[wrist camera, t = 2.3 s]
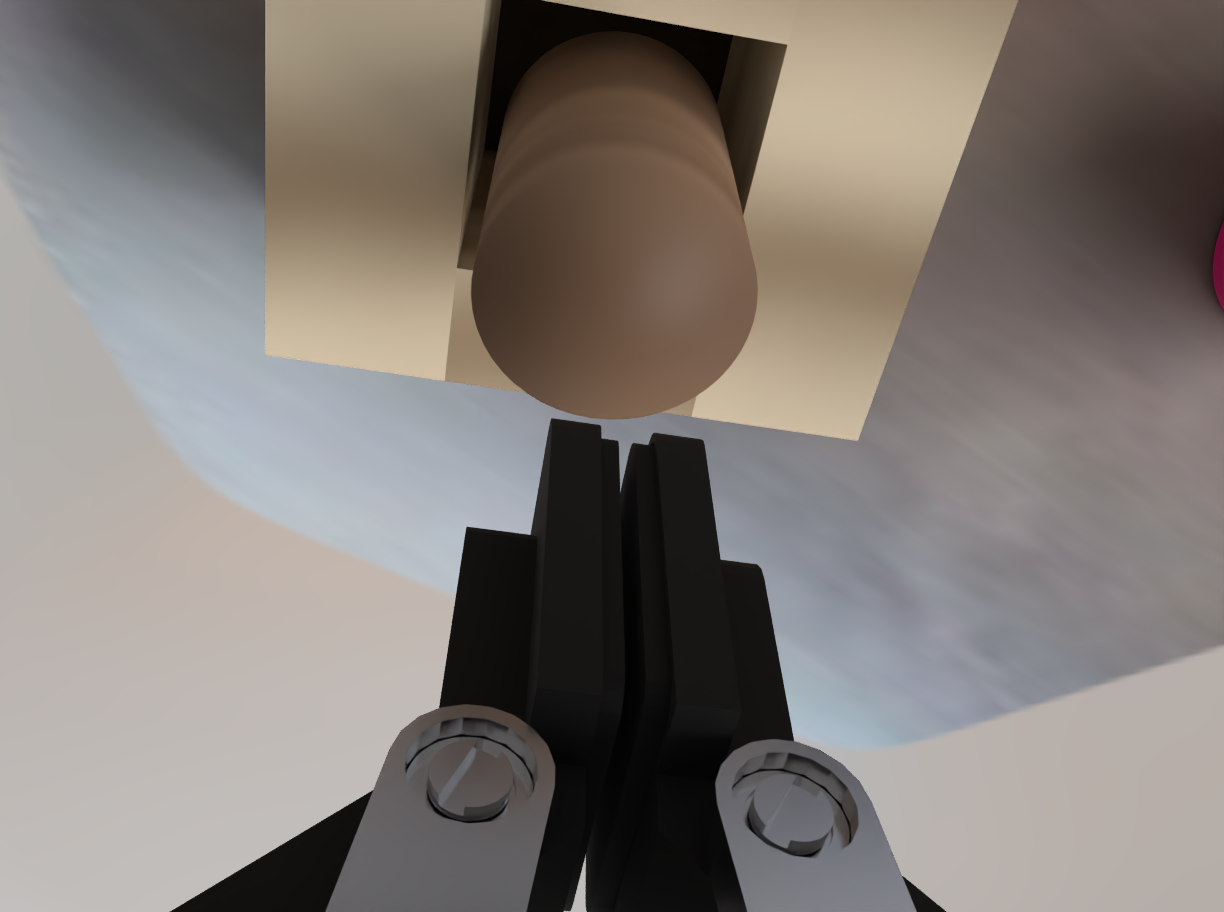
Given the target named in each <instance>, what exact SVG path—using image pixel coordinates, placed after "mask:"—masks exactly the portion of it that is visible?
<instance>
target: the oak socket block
mask: <svg viewBox="0 0 1224 912" xmlns="http://www.w3.org/2000/svg"><path fill="white" fill-rule="evenodd" d="M543 1H549V2H554V3H560V4H565V5H571V6H576V7H582V8H587V9H593V10H598V11H604V12H609V13H615V14H620V15H626V16H632V17H637V18H643V19H648V20H654V21H659V22H665V23H670V24H676V25H681V26H687V27H692V28H698V29H703V30H709V31H714V32H720V33H726V34H731V35H733V38H732V43H731V47H730V51H729V56H728V60H727V64H726V69H725V73H724V77H723V82H722V86H721V90H720V95H719V99H718V103H717V106H718V110H719V115H720V119H721V123H722V127H723V131H724V136H725V140H726V144H727V149H728V153H729V157H730V161H731V166H732V170H733V174H734V178H735V183H736V187H737V191H738V196H739V200H740V204H741V208H742V213H743V217H744V221H745V226H746V230H747V234H748V238H749V243H750V247H751V251H752V255H753V260H754V264H755V268H756V273H757V284H758V296H757V308H756V313H755V318H754V322H753V325H752V328H751V331H750V333H749V336H748V339H747V341H746V342H745V344H744V346H743V348H742V350H741V352H740V354H739V355H738V356H737V358H736V359H735V361H734V362H733V363H732V365H731V366H730V367H729V368H728V369H727V371H726V372H725V373H724V374H723V375H722V376H721V377H720V378H719V379H718V380H717V381H716V382H714V383H713V384H712V385H711V386H710V387H709V388H707V389H706V390H705V391H703V392H702V393H700V394H699V395H697V396H696V397H694V398H693V399H691V400H689V401H687V402H685V403H683V404H681V405H679V406H677V407H674V408H671V409H669V410H666V411H663V413H670V414H677V415H683V416H690V417H697V418H704V419H711V420H718V421H725V422H732V423H739V424H746V425H753V426H759V427H766V428H773V429H780V430H787V431H794V432H801V433H808V434H815V435H822V436H829V437H835V438H842V439H849V440H856V441H858V438H859V435H860V433H861V430H862V427H863V425H864V422H865V419H866V416H867V414H868V411H869V408H870V405H871V403H872V400H873V397H874V394H875V392H876V389H877V386H878V383H879V381H880V378H881V375H882V372H883V370H884V367H885V364H886V362H887V359H888V356H889V353H890V351H891V348H892V345H893V342H894V340H895V337H896V334H897V331H898V329H899V326H900V323H901V320H902V318H903V315H904V312H905V309H906V307H907V304H908V301H909V299H910V296H911V293H912V290H913V288H914V285H915V282H916V279H917V277H918V274H919V271H920V268H921V266H922V263H923V260H924V257H925V255H926V252H927V249H928V246H929V244H930V241H931V238H932V236H933V233H934V230H935V227H936V225H937V222H938V219H939V216H940V214H941V211H942V208H943V205H944V203H945V200H946V197H947V194H948V192H949V189H950V186H951V183H952V181H953V178H954V175H955V173H956V170H957V167H958V164H959V162H960V159H961V156H962V153H963V151H964V148H965V145H966V142H967V140H968V137H969V134H970V131H971V129H972V126H973V123H974V120H975V118H976V115H977V112H978V110H979V107H980V104H981V101H982V99H983V96H984V93H985V90H986V88H987V85H988V82H989V79H990V77H991V74H992V71H993V68H994V66H995V63H996V60H997V57H998V55H999V52H1000V49H1001V47H1002V44H1003V41H1004V38H1005V36H1006V33H1007V30H1008V27H1009V25H1010V22H1011V19H1012V16H1013V14H1014V11H1015V8H1016V5H1017V3H1018V0H543ZM500 8H501V0H265V355H269V356H276V357H283V358H290V359H297V360H304V361H311V362H317V363H324V364H331V365H338V366H345V367H352V368H359V369H366V370H373V371H380V372H387V373H393V374H400V375H407V376H414V377H421V378H428V379H435V380H442V381H449V382H456V383H462V384H469V385H476V386H483V387H490V388H497V389H504V390H511V391H518V392H525V391H523V390H522V389H521V388H520V387H518V386H517V385H516V384H514V383H513V382H512V381H511V380H510V379H509V378H508V377H507V376H506V375H505V374H504V373H503V372H502V371H501V370H500V368H499V367H498V366H497V364H496V363H495V362H494V361H493V359H492V358H491V356H490V355H489V353H488V351H487V349H486V348H485V346H484V344H483V342H482V340H481V337H480V335H479V332H478V330H477V327H476V323H475V319H474V315H473V311H472V301H471V280H472V274H473V268H474V263H475V258H476V253H477V249H478V244H479V239H480V234H481V229H482V224H483V219H484V215H485V210H486V205H487V200H488V195H489V190H490V185H491V181H492V176H493V171H494V166H495V161H496V156H497V151H491V150H485V149H484V148H485V139H486V130H487V121H488V113H489V104H490V95H491V87H492V78H493V69H494V61H495V52H496V43H497V34H498V26H499V17H500ZM525 393H526V392H525Z"/></svg>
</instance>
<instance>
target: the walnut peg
mask: <svg viewBox="0 0 1224 912" xmlns="http://www.w3.org/2000/svg"><path fill="white" fill-rule="evenodd" d="M757 296H758V284H757V273H756V268H755V264H754V260H753V255H752V251H751V247H750V243H749V238H748V234H747V230H746V226H745V221H744V217H743V213H742V208H741V204H740V200H739V196H738V191H737V187H736V183H735V178H734V174H733V170H732V166H731V161H730V157H729V153H728V149H727V144H726V140H725V136H724V131H723V127H722V123H721V119H720V115H719V110H718V106H717V104H716V101H715V99H714V96H713V94H712V92H711V90H710V88H709V87H708V85H707V83H706V81H705V80H704V78H703V77H702V76H701V74H700V73H699V72H698V70H697V69H696V68H695V67H694V66H693V65H692V64H691V63H690V62H689V61H688V60H687V59H686V58H684V57H683V56H682V55H681V54H679V53H678V52H677V51H675V50H674V49H672V48H670V47H669V46H667V45H665V44H663V43H661V42H659V41H657V40H654V39H652V38H649V37H646V36H642V35H638V34H634V33H627V32H618V31H615V32H598V33H592V34H586V35H583V36H580V37H576V38H573V39H571V40H568V41H566V42H564V43H562V44H560V45H558V46H556V47H555V48H553V49H552V50H550V51H548V52H547V53H545V54H544V55H543V56H542V57H541V58H540V59H538V60H537V61H536V62H535V63H534V64H533V65H532V66H531V67H530V68H529V69H528V71H527V72H526V73H525V74H524V75H523V77H522V78H521V80H520V81H519V83H518V84H517V86H516V88H515V90H514V92H513V94H512V96H511V98H510V101H509V104H508V106H507V109H506V113H505V118H504V122H503V127H502V132H501V137H500V142H499V147H498V152H497V156H496V161H495V166H494V171H493V176H492V181H491V185H490V190H489V195H488V200H487V205H486V210H485V215H484V219H483V224H482V229H481V234H480V239H479V244H478V249H477V253H476V258H475V263H474V268H473V274H472V280H471V301H472V311H473V315H474V319H475V323H476V327H477V330H478V332H479V335H480V337H481V340H482V342H483V344H484V346H485V348H486V349H487V351H488V353H489V355H490V356H491V358H492V359H493V361H494V362H495V363H496V364H497V366H498V367H499V368H500V370H501V371H502V372H503V373H504V374H505V375H506V376H507V377H508V378H509V379H510V380H511V381H512V382H513V383H514V384H516V385H517V386H518V387H520V388H521V389H522V390H523V391H525V392H526V393H527V394H529V395H531V396H532V397H534V398H536V399H537V400H539V401H541V402H543V403H545V404H547V405H549V406H552V407H554V408H556V409H559V410H562V411H565V412H568V413H571V414H574V415H579V416H584V417H589V418H599V419H630V418H637V417H644V416H648V415H652V414H657V413H660V412H663V411H666V410H669V409H671V408H674V407H677V406H679V405H681V404H683V403H685V402H687V401H689V400H691V399H693V398H694V397H696V396H697V395H699V394H700V393H702V392H703V391H705V390H706V389H707V388H709V387H710V386H711V385H712V384H713V383H714V382H716V381H717V380H718V379H719V378H720V377H721V376H722V375H723V374H724V373H725V372H726V371H727V369H728V368H729V367H730V366H731V365H732V363H733V362H734V361H735V359H736V358H737V356H738V355H739V354H740V352H741V350H742V348H743V346H744V344H745V342H746V341H747V339H748V336H749V333H750V331H751V328H752V325H753V322H754V318H755V313H756V308H757Z"/></svg>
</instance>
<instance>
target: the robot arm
mask: <svg viewBox="0 0 1224 912" xmlns="http://www.w3.org/2000/svg"><path fill="white" fill-rule="evenodd" d="M585 855H586V911H587V912H946V911H945V910H944V909H942V908H941V907H940V906H939V905H937V904H936V903H935V902H934V901H932V900H931V899H930V898H929V897H928V896H926V895H925V894H924V893H923V892H922V891H920V890H919V889H918V888H917V887H915V886H914V885H913V884H912V883H911V882H909V881H908V880H907V879H906V878H904V877H903V876H902V875H901V872H900V870H899V868H898V865H897V863H896V860H895V858H894V855H893V853H892V851H891V848H890V846H889V843H888V841H887V838H886V836H885V834H884V831H883V829H882V826H881V824H880V822H879V819H878V817H877V814H876V812H875V810H874V807H873V804H872V802H871V800H870V798H869V797H868V795H867V793H866V792H865V791H864V789H863V787H862V785H861V783H860V782H859V780H858V779H857V778H856V777H854V776H853V775H852V773H850V771H848V770H847V768H846V767H845V766H843V764H841V763H840V762H838V761H837V760H835V759H833V758H832V757H830V756H828V755H827V754H825V753H824V752H822V751H821V750H818V749H815V748H813V747H810V746H807V745H804V744H802V743H799V742H794V738H793V733H792V727H791V722H790V716H789V711H788V705H787V700H786V695H785V689H784V684H783V678H782V673H781V667H780V662H779V656H778V651H777V646H776V640H775V635H774V629H773V624H772V618H771V613H770V607H769V602H768V597H767V591H766V586H765V580H764V576H763V573H762V570H761V568H760V567H759V566H758V565H757V564H749V563H742V562H734V561H726V560H721V559H720V552H719V545H718V538H717V531H716V523H715V516H714V509H713V502H712V495H711V487H710V480H709V473H708V466H707V459H706V451H705V445H704V441H703V440H701V439H694V438H687V437H680V436H673V435H666V434H659V433H653V435H652V436H651V439H650V442H649V445H644V444H636V443H633V444H632V446H631V449H630V452H629V456H628V461H627V465H626V470H625V474H624V479H623V483H622V488H621V492H620V471H619V443H618V441H615V440H608V439H601V426H600V425H595V424H588V423H581V422H574V421H567V420H560V419H553V418H552V419H551V422H550V426H549V431H548V437H547V443H546V448H545V454H544V460H543V466H542V472H541V477H540V483H539V489H538V495H537V501H536V506H535V512H534V518H533V524H532V530H531V535H527V534H519V533H511V532H503V531H496V530H488V529H480V528H473V527H467V528H466V534H465V540H464V547H463V553H462V560H461V566H460V573H459V580H458V586H457V593H456V600H455V606H454V613H453V619H452V626H451V633H450V639H449V646H448V653H447V659H446V666H445V673H444V679H443V687H442V692H441V699H440V706H439V709H436V710H434V711H431V712H429V713H426V714H424V715H421V716H419V717H418V718H416V719H415V720H414V721H413V722H411V723H410V724H409V725H408V726H406V727H405V728H404V729H403V730H401V732H400V733H399V735H398V737H397V738H396V740H395V741H394V743H393V744H392V746H391V748H390V750H389V752H388V755H387V757H386V760H385V762H384V764H383V767H382V770H381V772H380V775H379V777H378V780H377V782H376V785H375V787H374V790H373V791H371V792H369V793H368V794H366V795H364V796H363V797H361V798H359V799H358V800H356V801H354V802H353V803H351V804H349V805H348V806H346V807H344V808H343V809H341V810H339V811H338V812H336V813H334V814H333V815H331V816H329V817H328V818H326V819H324V820H323V821H321V822H319V823H317V824H316V825H314V826H313V827H311V828H309V829H308V830H306V831H304V832H303V833H301V834H299V835H298V836H296V837H294V838H292V839H291V840H289V841H287V842H286V843H284V844H282V845H281V846H279V847H277V848H276V849H274V850H272V851H271V852H269V853H267V854H266V855H264V856H262V857H261V858H259V859H257V860H256V861H254V862H252V863H251V864H249V865H247V866H246V867H244V868H242V869H241V870H239V871H237V872H236V873H234V874H232V875H231V876H229V877H227V878H226V879H224V880H222V881H221V882H219V883H217V884H216V885H214V886H212V887H211V888H209V889H207V890H205V891H204V892H202V893H200V894H199V895H197V896H195V897H194V898H192V899H190V900H189V901H187V902H185V903H184V904H182V905H180V906H179V907H177V908H175V909H174V910H172V911H170V912H563V911H570V910H571V908H572V905H573V902H574V898H575V894H576V890H577V886H578V882H579V878H580V874H581V871H582V867H583V862H584V859H585Z"/></svg>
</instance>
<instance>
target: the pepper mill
mask: <svg viewBox="0 0 1224 912" xmlns="http://www.w3.org/2000/svg"><path fill="white" fill-rule="evenodd" d="M1213 281H1214V288H1215V292H1216V295H1217V298H1218V301H1219V303H1220V305H1221V307H1222V309H1223V310H1224V222H1223V224H1222V227H1221V230H1220V233H1219V236H1218V239H1217V242H1216V247H1215V252H1214V258H1213Z"/></svg>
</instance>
